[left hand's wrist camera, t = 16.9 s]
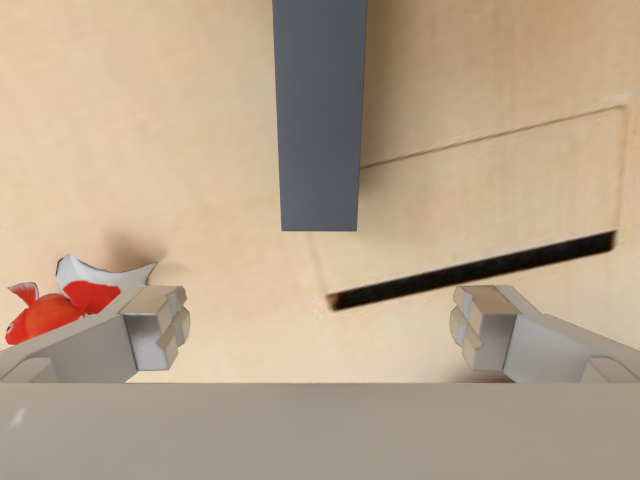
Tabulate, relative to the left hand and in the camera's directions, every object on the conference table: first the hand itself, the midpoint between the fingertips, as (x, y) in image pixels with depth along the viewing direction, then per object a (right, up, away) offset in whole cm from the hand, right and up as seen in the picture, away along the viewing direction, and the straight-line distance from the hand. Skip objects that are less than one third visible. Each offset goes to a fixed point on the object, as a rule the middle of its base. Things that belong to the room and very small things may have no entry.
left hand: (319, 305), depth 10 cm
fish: (-24, -3, +28) cm, 37 cm away
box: (0, +19, +20) cm, 27 cm away
